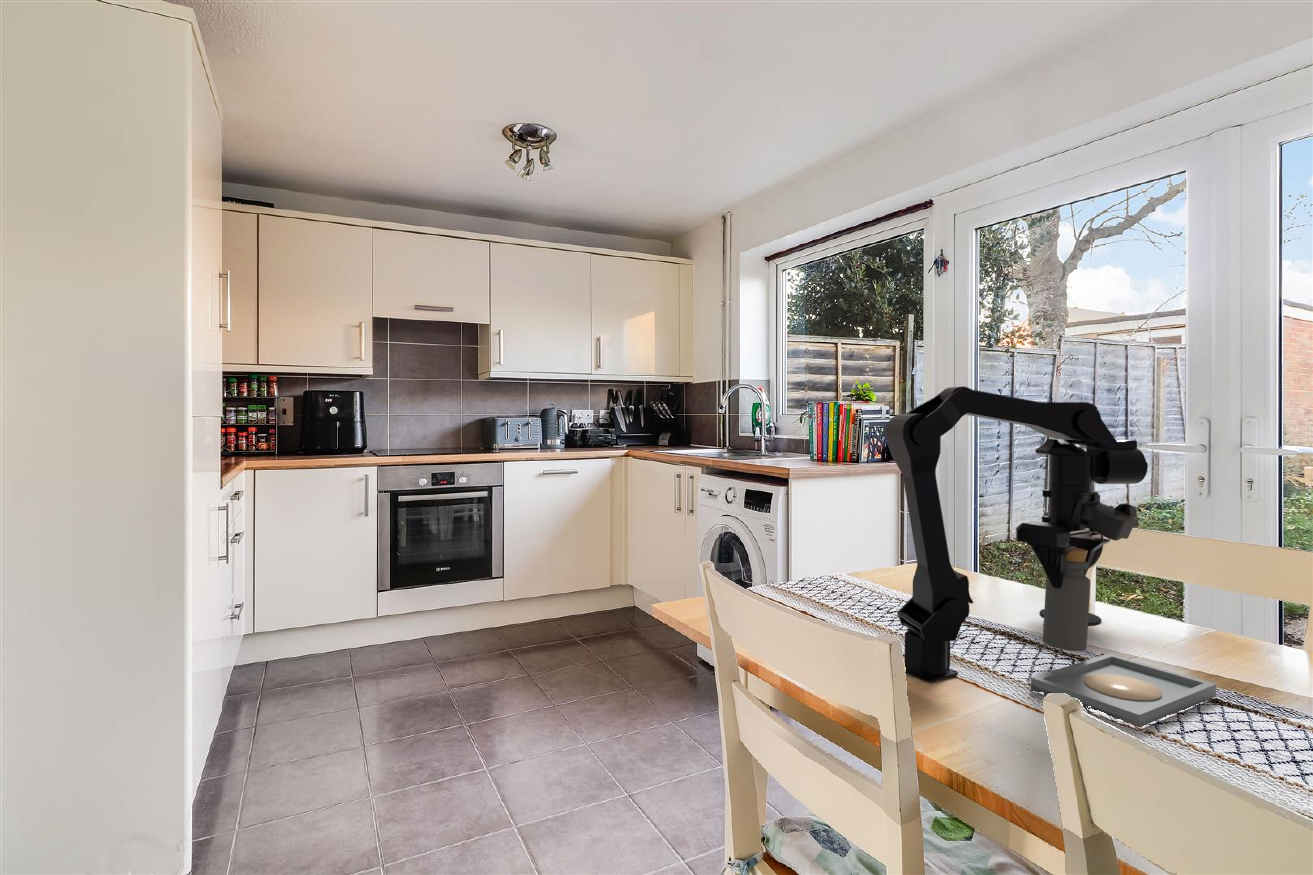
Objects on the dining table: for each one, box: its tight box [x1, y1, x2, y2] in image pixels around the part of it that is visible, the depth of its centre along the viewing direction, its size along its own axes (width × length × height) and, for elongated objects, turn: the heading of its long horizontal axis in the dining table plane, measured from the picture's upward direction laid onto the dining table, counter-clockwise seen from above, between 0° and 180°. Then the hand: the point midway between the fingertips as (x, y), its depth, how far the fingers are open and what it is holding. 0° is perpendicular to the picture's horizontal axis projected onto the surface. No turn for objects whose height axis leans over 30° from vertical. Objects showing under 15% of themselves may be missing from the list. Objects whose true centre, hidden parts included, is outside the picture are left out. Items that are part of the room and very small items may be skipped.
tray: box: [1030, 653, 1217, 727], centre depth 97 cm, size 20×14×2 cm
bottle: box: [1042, 548, 1091, 652], centre depth 106 cm, size 6×6×15 cm
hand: (1067, 585), depth 106 cm, fingers closed on bottle, 6 cm apart
